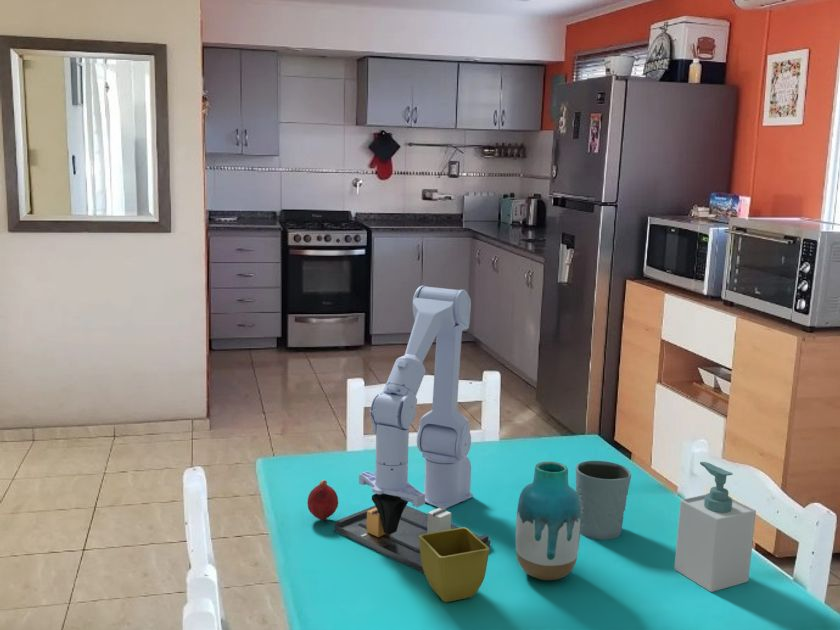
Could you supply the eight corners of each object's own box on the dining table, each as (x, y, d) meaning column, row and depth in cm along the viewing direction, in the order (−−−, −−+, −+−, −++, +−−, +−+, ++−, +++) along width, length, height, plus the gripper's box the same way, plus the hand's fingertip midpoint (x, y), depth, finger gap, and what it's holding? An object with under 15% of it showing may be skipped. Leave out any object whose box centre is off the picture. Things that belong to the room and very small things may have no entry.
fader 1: (378, 526, 160) (379, 504, 159) (390, 531, 158) (390, 509, 157) (366, 531, 158) (366, 509, 157) (378, 537, 156) (378, 514, 155)
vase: (562, 596, 140) (569, 484, 136) (502, 578, 145) (508, 469, 141) (586, 570, 148) (594, 464, 145) (529, 554, 154) (535, 451, 150)
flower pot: (416, 585, 142) (417, 533, 140) (464, 576, 145) (466, 525, 144) (438, 611, 134) (440, 557, 132) (488, 601, 138) (491, 548, 136)
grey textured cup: (561, 528, 164) (565, 468, 162) (590, 513, 172) (594, 455, 169) (608, 546, 158) (613, 484, 155) (636, 529, 165) (641, 469, 162)
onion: (332, 528, 162) (333, 487, 160) (303, 525, 163) (303, 484, 161) (341, 515, 167) (342, 476, 166) (313, 512, 168) (313, 473, 167)
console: (395, 506, 172) (395, 496, 172) (490, 546, 156) (490, 535, 156) (334, 530, 161) (334, 520, 160) (430, 576, 145) (430, 565, 144)
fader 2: (438, 528, 160) (439, 505, 159) (450, 533, 158) (451, 510, 157) (426, 533, 158) (427, 510, 157) (439, 538, 156) (440, 515, 155)
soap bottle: (709, 559, 154) (720, 457, 150) (748, 582, 146) (760, 474, 142) (672, 569, 150) (682, 464, 146) (711, 592, 142) (722, 482, 138)
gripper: (347, 454, 155) (346, 526, 157) (405, 477, 145) (404, 552, 148) (375, 445, 160) (374, 514, 163) (434, 466, 150) (431, 539, 153)
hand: (390, 532), depth 156 cm, fingers closed
